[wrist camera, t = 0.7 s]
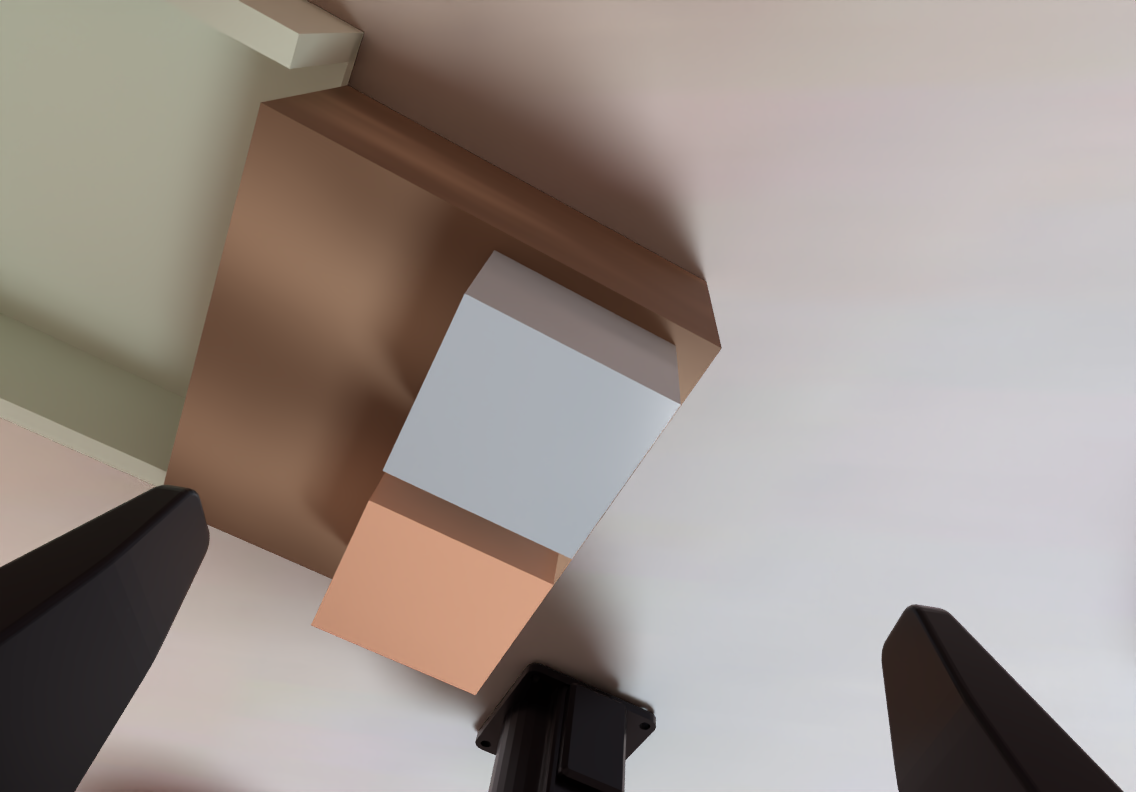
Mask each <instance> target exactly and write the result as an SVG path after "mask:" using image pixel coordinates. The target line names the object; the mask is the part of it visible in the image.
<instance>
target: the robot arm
mask: <svg viewBox="0 0 1136 792" xmlns="http://www.w3.org/2000/svg"><path fill="white" fill-rule="evenodd" d="M208 546H209V530H208V526H207V522H206V518H205V515H204V511H203V507H202V504H201V500H200V497H199V494H198V493H197V492H196V491H195V490H194V489H191V488H186V487H180V486H173V485H160V486H157V487H155V488H153V489H151V490H149V491H147V492H145V493H143V494H141V495H139V496H137V497H135V498H133V499H131V500H129V501H127V502H125V503H124V504H122V505H120V506H118V507H116V508H114V509H112V510H110V511H108V512H106V513H104V514H102V515H100V516H98V517H96V518H95V519H93V520H91V521H89V522H87V523H85V524H83V525H81V526H79V527H77V528H75V529H73V530H71V531H69V532H67V533H66V534H64V535H62V536H60V537H58V538H56V539H54V540H52V541H50V542H48V543H46V544H44V545H42V546H40V547H38V548H37V549H35V550H33V551H31V552H29V553H27V554H25V555H23V556H21V557H19V558H17V559H15V560H13V561H11V562H9V563H8V564H6V565H4V566H2V567H0V792H75V790H76V788H77V787H78V785H79V784H80V782H81V780H82V779H83V777H84V775H85V774H86V772H87V770H88V769H89V767H90V766H91V764H92V762H93V761H94V759H95V757H96V756H97V754H98V752H99V751H100V749H101V748H102V746H103V744H104V743H105V741H106V739H107V738H108V736H109V734H110V733H111V731H112V730H113V728H114V726H115V725H116V723H117V721H118V720H119V718H120V716H121V715H122V713H123V712H124V710H125V708H126V707H127V705H128V703H129V702H130V700H131V699H132V697H133V695H134V694H135V692H136V690H137V689H138V687H139V685H140V684H141V682H142V681H143V679H144V677H145V675H146V674H147V672H148V670H149V669H150V667H151V665H152V663H153V662H154V660H155V658H156V656H157V654H158V652H159V650H160V648H161V646H162V644H163V642H164V640H165V638H166V636H167V634H168V632H169V630H170V628H171V625H172V623H173V621H174V619H175V617H176V615H177V613H178V611H179V609H180V607H181V605H182V602H183V600H184V598H185V596H186V594H187V592H188V590H189V588H190V586H191V584H192V581H193V579H194V577H195V575H196V573H197V571H198V569H199V567H200V565H201V563H202V561H203V558H204V556H205V554H206V552H207V549H208ZM882 669H883V677H884V685H885V693H886V701H887V709H888V717H889V725H890V733H891V741H892V749H893V757H894V765H895V772H896V778H897V785H898V790H899V792H1123V791H1122V789H1121V788H1120V787H1119V786H1118V785H1117V784H1116V783H1115V782H1114V781H1113V780H1112V779H1111V778H1110V777H1109V776H1108V775H1107V774H1106V773H1105V772H1104V771H1103V770H1102V769H1101V768H1100V767H1099V766H1098V765H1097V764H1096V763H1095V762H1094V761H1093V760H1092V759H1091V758H1090V757H1089V756H1088V755H1087V754H1086V752H1085V751H1084V750H1083V749H1082V748H1081V747H1080V746H1079V745H1078V744H1077V743H1076V742H1075V741H1074V740H1073V739H1072V738H1071V737H1070V736H1069V735H1068V734H1067V733H1066V732H1065V731H1064V730H1063V729H1062V728H1061V727H1060V726H1059V725H1058V724H1057V723H1056V722H1055V721H1054V720H1053V719H1052V718H1051V716H1050V715H1049V714H1048V713H1047V712H1046V711H1045V710H1044V709H1043V708H1042V707H1041V706H1040V705H1039V704H1038V703H1037V702H1036V701H1035V700H1034V699H1033V698H1032V697H1031V696H1030V695H1029V694H1028V693H1027V692H1026V691H1025V690H1024V689H1023V688H1022V687H1021V686H1020V685H1019V684H1018V683H1017V682H1016V681H1015V679H1014V678H1013V677H1012V676H1011V675H1010V674H1009V673H1008V672H1007V671H1006V670H1005V669H1004V668H1003V667H1002V666H1001V665H1000V664H999V663H998V662H997V661H996V660H995V659H994V658H993V657H992V656H991V655H990V654H989V653H988V652H987V651H986V650H985V649H984V648H983V647H982V646H981V645H980V643H979V642H978V641H977V640H976V639H975V638H974V637H973V636H972V635H971V634H970V633H969V632H968V631H967V630H966V629H965V628H964V627H963V626H962V625H961V624H960V623H959V622H958V621H957V620H956V619H955V618H954V617H953V616H952V615H951V614H950V613H949V612H947V611H946V610H943V609H941V608H935V607H929V606H923V605H917V604H915V605H910V606H909V607H907V608H906V609H905V610H904V612H903V613H902V615H901V617H900V618H899V620H898V622H897V623H896V625H895V626H894V628H893V630H892V631H891V633H890V634H889V636H888V638H887V639H886V641H885V643H884V646H883V649H882ZM655 728H656V717H655V716H654V714H652V713H651V712H648V711H646V710H644V709H642V708H639V707H637V706H635V705H633V704H630V703H628V702H626V701H623V700H621V699H619V698H617V697H614V696H612V695H610V694H608V693H605V692H603V691H601V690H598V689H596V688H594V687H592V686H589V685H587V684H585V683H582V682H580V681H578V680H576V679H573V678H571V677H569V676H567V675H564V674H562V673H560V672H557V671H555V670H553V669H551V668H548V667H546V666H544V665H541V664H536V663H533V664H530V665H529V666H527V667H526V669H525V670H524V671H523V673H522V674H521V675H520V677H519V678H518V679H517V681H516V682H515V683H514V685H513V686H512V688H511V689H510V690H509V692H508V693H507V694H506V696H505V697H504V698H503V700H502V701H501V702H500V704H499V705H498V706H497V708H496V709H495V710H494V712H493V713H492V714H491V716H490V717H489V718H488V720H487V721H486V722H485V724H484V725H483V726H482V728H481V729H480V730H479V732H478V734H477V738H476V742H475V743H476V745H477V747H478V748H480V749H482V750H484V751H487V752H489V753H492V754H494V755H496V758H495V762H494V767H493V772H492V777H491V782H490V786H489V791H488V792H624V786H625V760H626V759H627V758H628V757H629V756H630V755H631V754H632V753H633V752H634V751H635V750H636V749H637V748H638V747H639V746H640V745H641V744H642V743H643V742H644V741H645V739H646V738H647V737H648V736H649V735H650V734H651V733H652V732H653V731H654V730H655Z"/></svg>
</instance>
